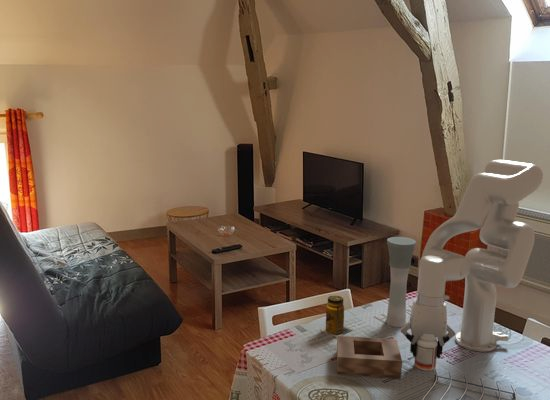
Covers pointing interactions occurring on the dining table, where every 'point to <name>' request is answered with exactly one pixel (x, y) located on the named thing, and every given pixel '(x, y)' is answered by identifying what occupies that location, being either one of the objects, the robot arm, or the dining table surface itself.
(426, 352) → the pill bottle
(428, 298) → the robot arm
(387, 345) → the well block
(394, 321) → the container
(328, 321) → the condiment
